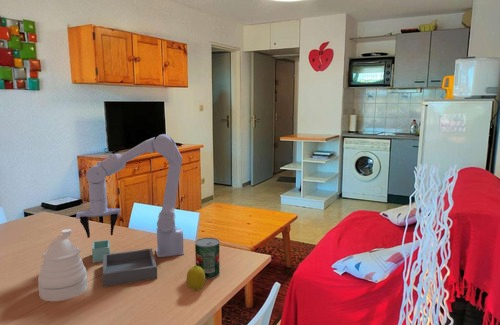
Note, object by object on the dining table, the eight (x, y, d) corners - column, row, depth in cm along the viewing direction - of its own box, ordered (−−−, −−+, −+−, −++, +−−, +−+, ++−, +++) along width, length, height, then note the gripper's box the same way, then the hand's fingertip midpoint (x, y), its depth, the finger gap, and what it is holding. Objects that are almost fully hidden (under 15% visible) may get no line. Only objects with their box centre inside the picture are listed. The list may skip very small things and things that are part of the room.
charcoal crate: (152, 259, 132) (151, 248, 132) (157, 278, 118) (156, 266, 117) (104, 265, 127) (103, 254, 126) (103, 286, 112) (102, 274, 112)
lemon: (202, 296, 107) (201, 270, 106) (184, 294, 108) (183, 268, 107) (208, 287, 112) (207, 262, 111) (190, 285, 113) (190, 260, 112)
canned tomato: (191, 272, 122) (190, 241, 120) (210, 266, 127) (210, 235, 125) (204, 281, 116) (203, 248, 114) (224, 274, 121) (224, 242, 119)
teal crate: (110, 252, 139) (109, 239, 138) (109, 260, 131) (109, 247, 131) (93, 254, 137) (93, 241, 136) (92, 263, 129) (92, 249, 129)
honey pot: (75, 276, 119) (71, 222, 116) (95, 288, 111) (91, 231, 108) (31, 291, 109) (26, 233, 107) (50, 306, 101) (45, 243, 99)
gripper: (119, 194, 137) (121, 229, 139) (76, 197, 132) (79, 234, 134) (120, 199, 130) (121, 236, 132) (74, 202, 125) (77, 240, 127)
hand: (100, 235), depth 133 cm, fingers open, 7 cm apart
